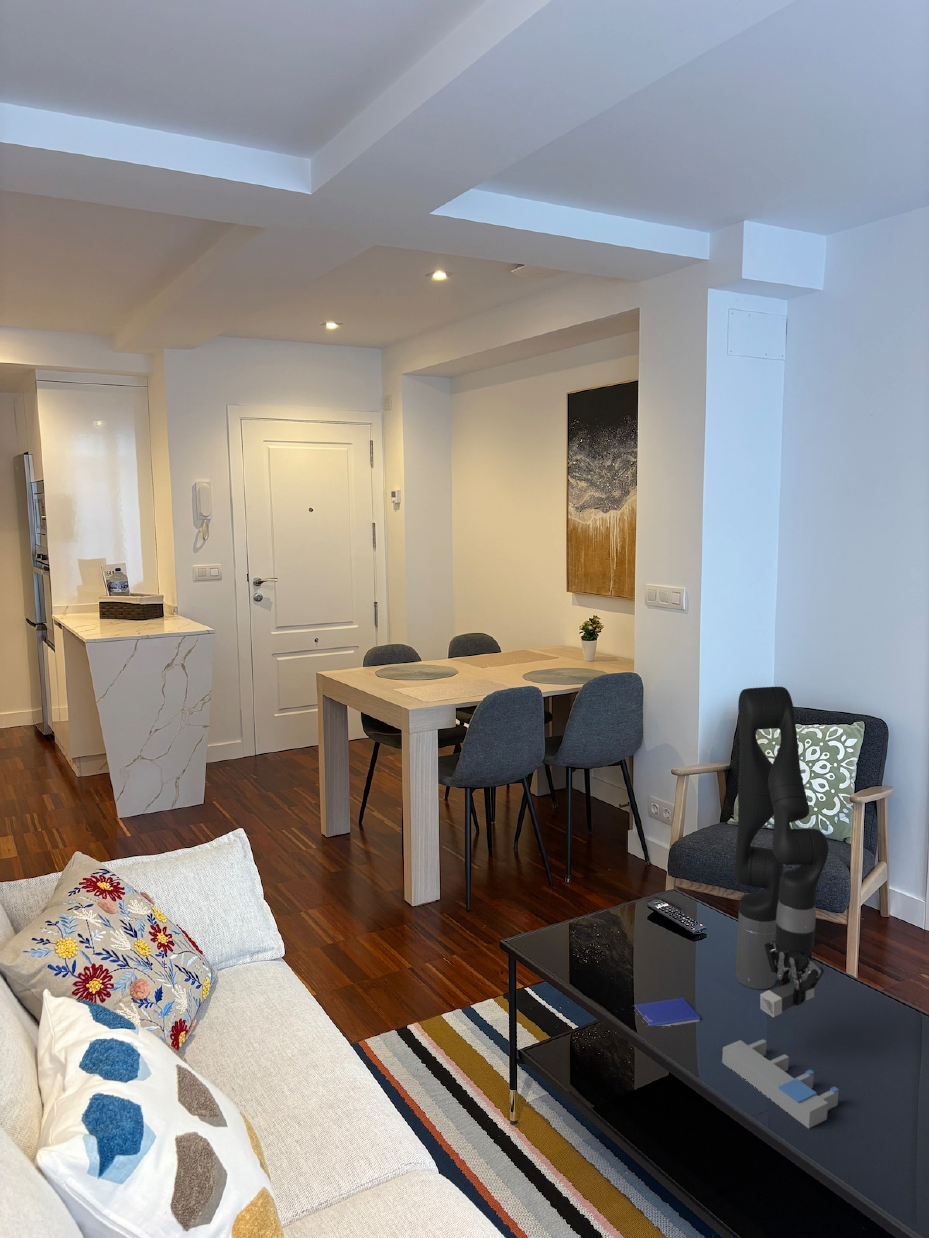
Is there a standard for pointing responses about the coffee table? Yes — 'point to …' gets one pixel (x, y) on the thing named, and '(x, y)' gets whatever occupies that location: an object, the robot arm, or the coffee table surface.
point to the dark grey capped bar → (781, 998)
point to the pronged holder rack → (780, 1082)
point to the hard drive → (667, 1012)
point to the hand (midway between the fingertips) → (790, 999)
